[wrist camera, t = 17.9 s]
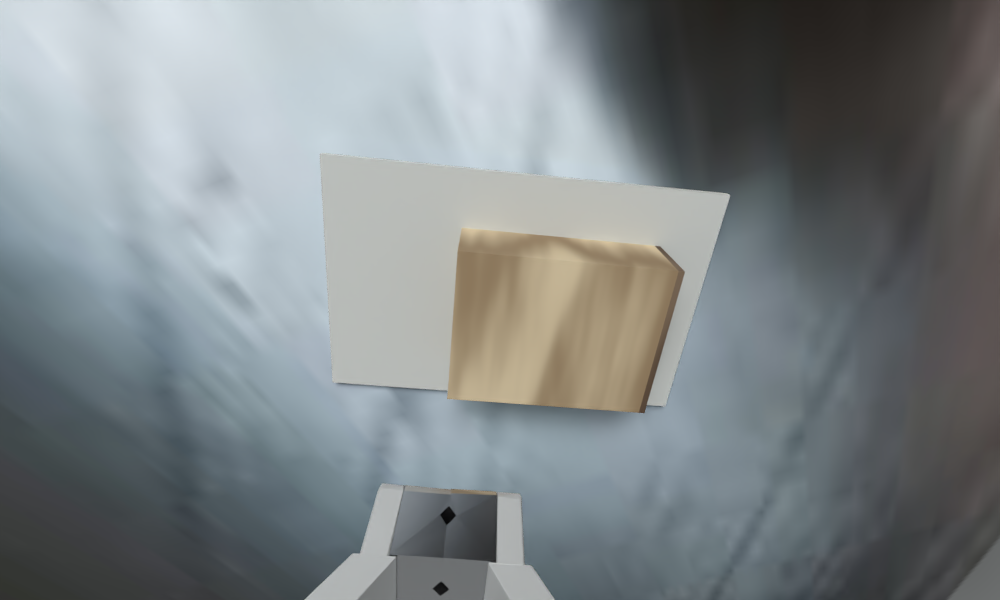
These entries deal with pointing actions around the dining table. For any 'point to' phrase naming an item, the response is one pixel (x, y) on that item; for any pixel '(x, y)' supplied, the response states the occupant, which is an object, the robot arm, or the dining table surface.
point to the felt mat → (434, 244)
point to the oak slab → (559, 320)
